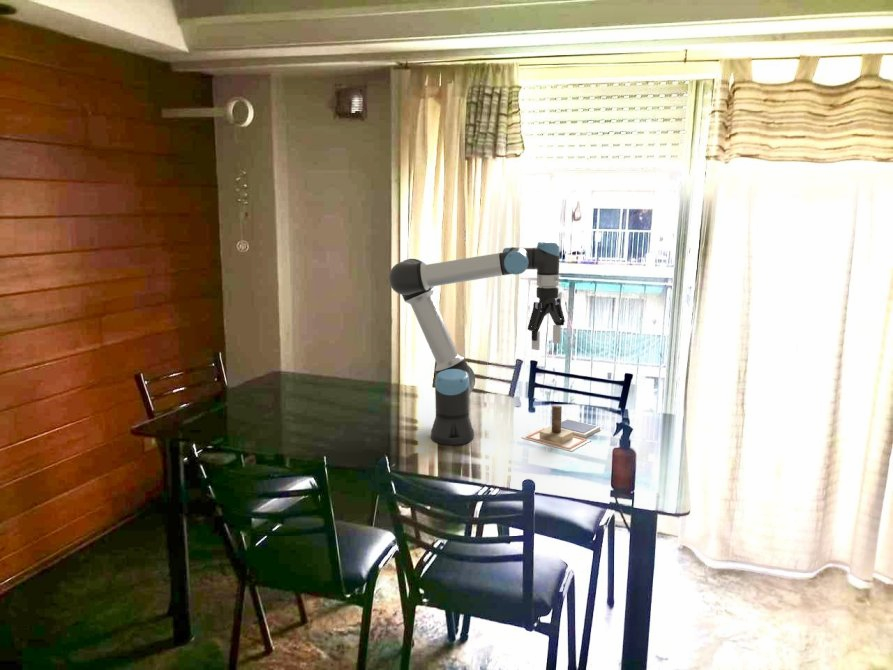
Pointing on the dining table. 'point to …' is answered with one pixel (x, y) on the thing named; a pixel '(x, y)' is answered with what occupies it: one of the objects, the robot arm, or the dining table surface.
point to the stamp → (556, 429)
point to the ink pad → (579, 428)
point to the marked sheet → (569, 445)
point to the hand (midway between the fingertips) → (546, 346)
